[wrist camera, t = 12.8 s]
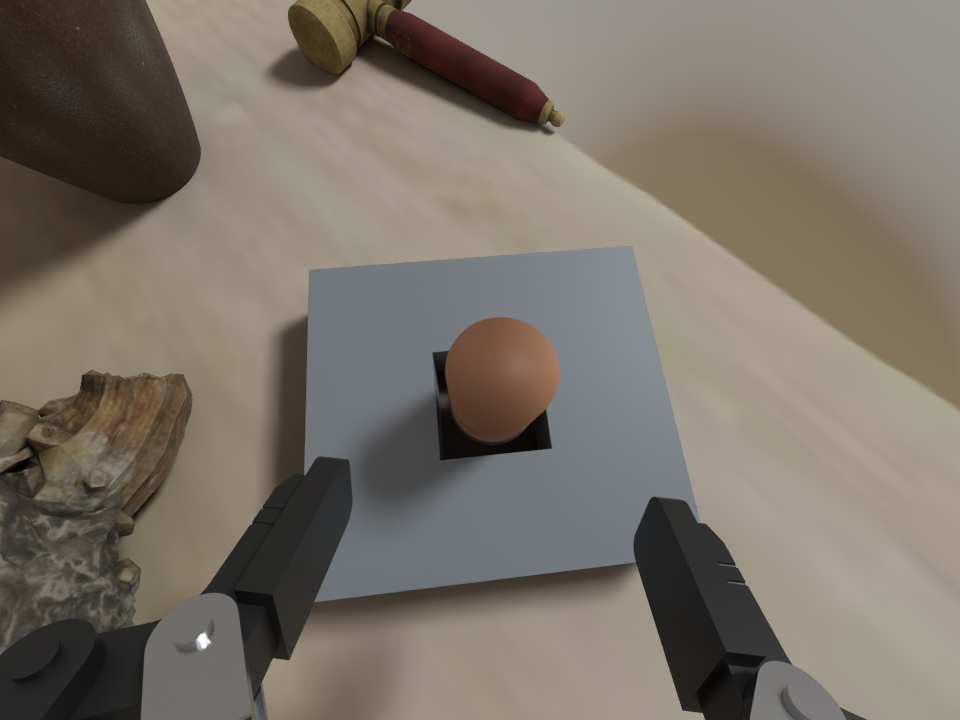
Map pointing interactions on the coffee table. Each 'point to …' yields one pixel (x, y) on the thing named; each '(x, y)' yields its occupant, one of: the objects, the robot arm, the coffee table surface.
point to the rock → (81, 497)
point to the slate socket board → (493, 478)
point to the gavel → (413, 51)
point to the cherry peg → (499, 379)
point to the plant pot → (94, 98)
